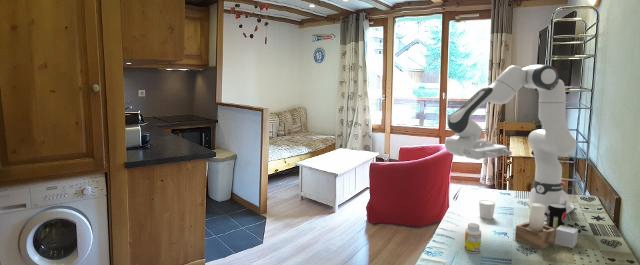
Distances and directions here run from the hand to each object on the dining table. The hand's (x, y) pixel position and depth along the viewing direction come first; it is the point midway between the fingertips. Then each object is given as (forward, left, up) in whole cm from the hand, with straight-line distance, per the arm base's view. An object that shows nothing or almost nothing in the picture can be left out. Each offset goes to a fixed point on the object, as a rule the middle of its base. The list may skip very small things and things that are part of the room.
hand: (503, 154), depth 164 cm
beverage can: (-14, +16, -32) cm, 39 cm away
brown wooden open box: (+2, +17, -32) cm, 36 cm away
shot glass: (-6, -11, -32) cm, 34 cm away
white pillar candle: (+2, +17, -27) cm, 32 cm away
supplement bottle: (+30, +10, -32) cm, 45 cm away
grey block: (-7, +24, -32) cm, 41 cm away
